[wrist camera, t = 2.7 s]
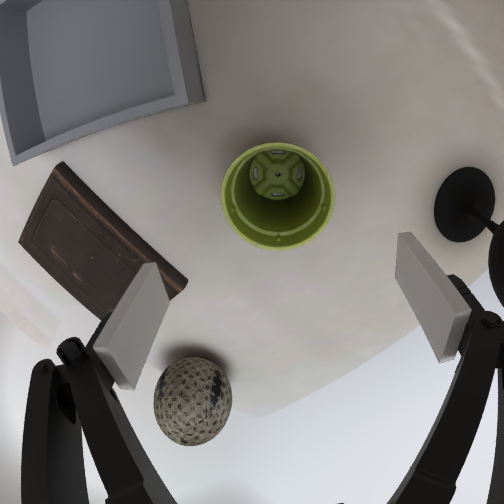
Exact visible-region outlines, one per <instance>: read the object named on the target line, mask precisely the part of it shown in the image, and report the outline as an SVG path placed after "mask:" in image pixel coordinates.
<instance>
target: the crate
mask: <svg viewBox="0 0 504 504" xmlns="http://www.w3.org/2000/svg"><path fill="white" fill-rule="evenodd" d="M204 101H206V99H205V94H204V89H203V84H202V79H201V74H200V68H199V63H198V58H197V52H196V47H195V42H194V36H193V31H192V26H191V20H190V15H189V9H188V3H187V0H0V113H1V118H2V123H3V128H4V133H5V137H6V141H7V145H8V149H9V153H10V157H11V161H12V164H13V166H15V165H18V164H20V163H22V162H24V161H26V160H29V159H31V158H33V157H36V156H38V155H40V154H43V153H45V152H48V151H50V150H52V149H54V148H57V147H59V146H62V145H64V144H67V143H69V142H72V141H74V140H77V139H79V138H82V137H84V136H87V135H90V134H93V133H95V132H98V131H101V130H104V129H107V128H110V127H113V126H116V125H119V124H122V123H125V122H128V121H131V120H135V119H138V118H141V117H145V116H148V115H152V114H155V113H159V112H163V111H166V110H170V109H174V108H178V107H182V106H186V105H191V104H195V103H200V102H204Z"/></svg>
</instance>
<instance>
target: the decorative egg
mask: <svg viewBox="0 0 504 504" xmlns="http://www.w3.org/2000/svg"><path fill="white" fill-rule="evenodd" d="M231 406H232V391H231V386H230V383H229V380H228V378H227V376H226V375H225V373H224V372H223V371H222V370H221V369H220V368H219V367H218V366H217V365H216V364H214V363H213V362H211V361H209V360H206V359H203V358H199V357H188V358H183V359H180V360H178V361H176V362H174V363H172V364H171V365H170V366H168V367H167V368H166V369H165V371H164V372H163V373H162V375H161V376H160V378H159V380H158V382H157V386H156V388H155V393H154V413H155V417H156V420H157V423H158V425H159V426H160V428H161V430H162V431H163V433H164V434H165V435H166V436H167V437H168V438H170V439H171V440H172V441H174V442H175V443H178V444H180V445H184V446H196V445H201V444H203V443H206V442H207V441H210V440H211V439H213V438H214V437H215V436H216V435H217V434H218V433H219V432H220V431H221V430H222V428H223V427H224V425H225V424H226V422H227V419H228V417H229V414H230V410H231Z"/></svg>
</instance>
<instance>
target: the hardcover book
mask: <svg viewBox="0 0 504 504" xmlns="http://www.w3.org/2000/svg"><path fill="white" fill-rule="evenodd" d="M18 243H19V244H20V245H21V246H22V247H23V248H24V249H25V250H26V251H27V252H28V253H29V254H30V255H31V256H32V257H33V258H34V259H35V260H36V261H37V262H38V263H39V264H40V265H41V266H42V267H43V268H44V269H45V270H46V271H47V272H48V273H49V274H50V275H51V276H52V277H53V278H54V279H55V280H56V281H57V282H58V283H59V284H60V285H61V286H62V287H63V288H64V289H66V290H67V291H68V292H69V293H70V294H71V295H72V296H73V297H74V298H76V299H77V300H78V301H79V302H80V303H81V304H82V305H83V306H85V307H86V308H87V309H88V310H89V311H91V312H92V313H93V314H94V315H95V316H96V317H98V318H99V319H100V320H102V319H103V318H104V317H105V316H106V315H107V314H108V313H109V312H113V311H114V310H115V308H116V306H117V305H118V303H119V301H120V300H121V298H122V297H123V295H124V293H125V292H126V290H127V289H128V287H129V286H130V284H131V282H132V281H133V279H134V278H135V276H136V275H137V273H138V272H139V270H140V268H141V267H142V265H143V264H145V263H153V262H156V265H157V268H158V270H159V273H160V276H161V279H162V282H163V284H164V287H165V290H166V292H167V295H168V298H169V300H172V299H173V298H174V297H175V296H176V295H178V294H179V293H180V292H181V291H182V290H183V289H184V288H185V287H186V285H187V283H188V279H187V278H186V277H184V276H183V275H182V274H181V273H180V272H179V271H178V270H176V269H175V268H174V267H173V266H172V265H171V264H170V263H169V262H167V261H166V260H165V259H164V258H163V257H162V256H161V255H160V254H159V253H157V252H156V251H155V250H154V249H153V248H152V247H151V246H150V245H149V244H148V243H146V242H145V241H144V240H143V239H142V238H141V237H140V236H139V235H138V234H137V233H136V232H135V231H133V230H132V229H131V228H130V227H129V226H128V225H127V224H126V223H125V222H124V221H123V220H122V219H121V218H120V217H119V216H118V215H117V214H116V213H114V212H113V211H112V210H111V209H110V208H109V207H108V206H107V205H106V204H105V203H104V202H103V201H102V200H101V199H100V198H99V197H98V196H97V195H96V194H95V193H94V192H93V191H92V190H91V189H90V188H89V187H88V186H87V185H86V184H85V183H84V182H83V181H82V180H81V179H80V178H79V177H78V176H77V175H76V174H75V173H74V172H73V171H72V170H71V169H70V168H69V167H68V166H67V165H66V164H65V163H64V162H61V163H59V164H58V165H56V166H55V168H54V169H53V171H52V173H51V174H50V176H49V178H48V180H47V182H46V184H45V186H44V188H43V189H42V191H41V193H40V195H39V197H38V199H37V201H36V203H35V206H34V208H33V210H32V212H31V214H30V216H29V218H28V221H27V223H26V225H25V227H24V230H23V232H22V234H21V237H20V239H19V241H18Z"/></svg>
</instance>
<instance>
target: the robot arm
mask: <svg viewBox="0 0 504 504" xmlns="http://www.w3.org/2000/svg"><path fill="white" fill-rule="evenodd" d="M395 278H396V280H397V282H398V284H399V285H400V287H401V289H402V291H403V293H404V294H405V296H406V298H407V300H408V302H409V304H410V306H411V307H412V309H413V311H414V313H415V315H416V317H417V319H418V321H419V323H420V325H421V327H422V329H423V331H424V333H425V335H426V336H427V339H428V341H429V343H430V345H431V347H432V349H433V351H434V353H435V356H436V358H437V360H438V362H439V363H443V362H447V361H451V360H454V358H455V356H456V353H457V351H459V353H460V355H461V359H460V361H459V364H458V366H457V368H456V371H455V375H454V378H453V380H452V383H451V385H450V388H449V390H448V393H447V395H446V398H445V400H444V402H443V405H442V407H441V409H440V411H439V414H438V416H437V418H436V420H435V422H434V424H433V426H432V428H431V430H430V432H429V434H428V436H427V438H426V440H425V442H424V444H423V446H422V448H421V450H420V452H419V453H418V455H417V457H416V459H415V461H414V463H413V464H412V466H411V467H410V469H409V471H408V473H407V474H406V476H405V477H404V479H403V481H402V482H401V484H400V485H399V487H398V489H397V490H396V492H395V493H394V494H393V496H392V497H391V499H390V500H389V501H388V503H387V504H449V503H450V501H451V499H452V497H453V495H454V493H455V490H456V485H455V483H456V480H457V478H458V476H459V474H460V472H461V469H462V467H463V465H464V463H465V460H466V458H467V455H468V453H469V450H470V448H471V445H472V443H473V440H474V437H475V435H476V432H477V429H478V427H479V424H480V421H481V418H482V415H483V412H484V408H485V405H486V402H487V398H488V395H489V391H490V387H491V383H492V379H493V376H494V371H495V368H498V423H497V437H496V448H495V457H494V465H493V472H492V479H491V484H490V490H489V495H488V499H487V504H504V321H502V319H501V317H500V316H498V315H497V314H496V313H493V312H491V311H485V310H484V308H483V307H482V306H481V304H480V303H479V302H478V300H477V299H476V298H475V296H474V295H473V294H472V293H471V291H470V290H469V288H467V286H466V285H465V283H464V282H463V281H462V280H461V279H460V278H458V277H457V276H455V275H454V274H453V275H447V276H446V274H445V273H444V272H443V270H442V269H441V268H440V267H439V265H438V264H437V263H436V261H435V260H434V259H433V258H432V257H431V255H430V254H429V253H428V252H427V250H426V249H425V248H424V247H423V246H422V244H421V243H420V242H419V241H418V240H417V238H416V237H415V236H414V235H413V234H412V233H411V232H404V233H398V243H397V258H396V270H395ZM169 303H170V300H169V298H168V295H167V292H166V290H165V287H164V284H163V282H162V279H161V276H160V273H159V270H158V268H157V265H156V262H153V263H145V264H143V265H142V267H141V268H140V270H139V272H138V273H137V275H136V276H135V278H134V279H133V281H132V282H131V284H130V286H129V287H128V289H127V290H126V292H125V293H124V295H123V297H122V298H121V300H120V301H119V303H118V305H117V306H116V308H115V310H114V311H113V312H109V313H108V314H107V315H106V316H105V317H104V318H103V319H102V320H101V322H100V324H99V325H98V327H97V328H96V330H95V333H94V334H93V335H92V337H91V338H90V340H89V342H88V344H87V345H86V347H85V346H84V345H83V343H82V342H81V340H80V339H79V338H77V337H71V338H68V339H66V340H65V341H63V342H62V343H61V344H60V345H59V346H58V348H57V355H58V356H59V358H60V359H61V361H62V362H63V365H58V366H55V364H54V363H53V362H52V360H50V359H44V360H41V361H39V362H38V363H37V364H36V365H35V366H34V368H33V370H32V374H31V380H30V386H29V392H28V398H27V405H26V413H25V421H24V431H23V444H22V463H21V499H22V500H21V501H22V504H89V499H88V493H87V486H86V477H85V468H84V458H83V446H82V430H81V429H83V432H84V435H85V438H86V441H87V444H88V447H89V449H90V452H91V455H92V457H93V460H94V462H95V465H96V468H97V470H98V473H99V475H100V477H101V480H102V482H103V484H104V486H105V489H106V491H107V494H108V498H107V499H106V500H105V503H106V504H177V502H176V501H175V500H174V498H173V497H172V495H171V494H170V492H169V491H168V489H167V488H166V486H165V484H164V483H163V481H162V480H161V478H160V476H159V475H158V473H157V471H156V470H155V468H154V466H153V465H152V463H151V461H150V459H149V458H148V456H147V454H146V452H145V451H144V449H143V447H142V445H141V443H140V442H139V440H138V438H137V436H136V434H135V432H134V430H133V428H132V426H131V424H130V422H129V420H128V418H127V416H126V414H125V412H124V410H123V408H122V406H121V404H120V401H119V400H118V397H117V395H116V392H115V391H114V390H113V388H112V386H113V384H114V382H116V384H117V385H118V386H119V388H120V389H124V390H125V389H126V390H135V387H136V384H137V382H138V379H139V376H140V374H141V372H142V369H143V367H144V364H145V361H146V359H147V356H148V354H149V351H150V349H151V346H152V344H153V342H154V339H155V337H156V334H157V332H158V329H159V327H160V325H161V322H162V320H163V317H164V315H165V313H166V310H167V308H168V306H169ZM81 426H82V428H81ZM339 504H343V503H339Z"/></svg>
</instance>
